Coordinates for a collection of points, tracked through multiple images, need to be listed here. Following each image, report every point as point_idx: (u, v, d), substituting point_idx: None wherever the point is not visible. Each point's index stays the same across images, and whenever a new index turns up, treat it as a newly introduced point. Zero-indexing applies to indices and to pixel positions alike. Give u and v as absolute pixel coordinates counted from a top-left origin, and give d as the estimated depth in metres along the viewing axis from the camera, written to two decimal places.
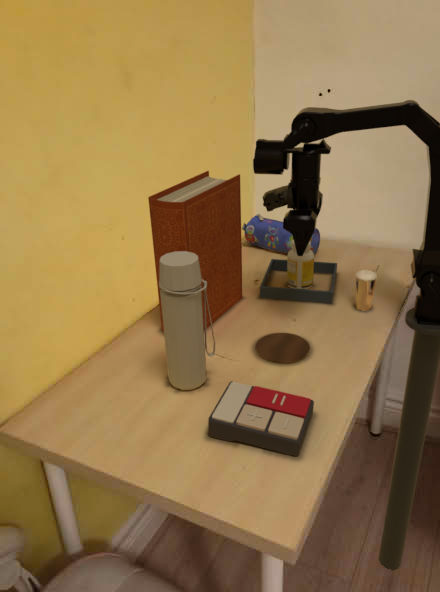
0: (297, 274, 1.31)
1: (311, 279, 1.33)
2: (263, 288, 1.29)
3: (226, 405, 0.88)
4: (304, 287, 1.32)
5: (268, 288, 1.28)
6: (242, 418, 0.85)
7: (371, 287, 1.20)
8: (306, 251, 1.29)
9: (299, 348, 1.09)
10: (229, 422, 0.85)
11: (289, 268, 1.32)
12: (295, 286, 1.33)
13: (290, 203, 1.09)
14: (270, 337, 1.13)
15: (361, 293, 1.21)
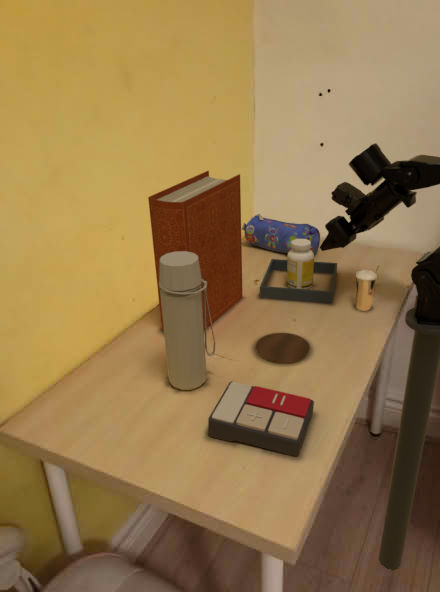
0: (297, 274, 1.31)
1: (311, 279, 1.33)
2: (263, 288, 1.29)
3: (226, 405, 0.88)
4: (304, 287, 1.32)
5: (268, 288, 1.28)
6: (242, 418, 0.85)
7: (371, 287, 1.20)
8: (306, 251, 1.29)
9: (299, 348, 1.09)
10: (229, 422, 0.85)
11: (289, 268, 1.32)
12: (295, 286, 1.33)
13: (349, 210, 1.15)
14: (270, 337, 1.13)
15: (361, 293, 1.21)
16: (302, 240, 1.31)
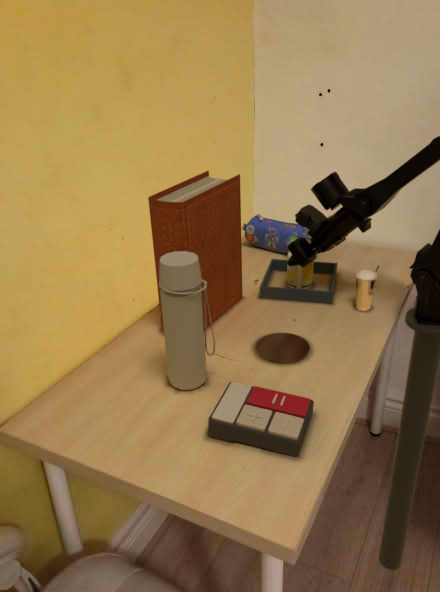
0: (297, 274, 1.31)
1: (311, 279, 1.33)
2: (263, 288, 1.29)
3: (226, 405, 0.88)
4: (304, 287, 1.32)
5: (268, 288, 1.28)
6: (242, 418, 0.85)
7: (371, 287, 1.20)
8: None
9: (299, 348, 1.09)
10: (229, 422, 0.85)
11: (289, 268, 1.32)
12: (295, 286, 1.33)
13: (311, 232, 1.24)
14: (270, 337, 1.13)
15: (361, 293, 1.21)
16: None
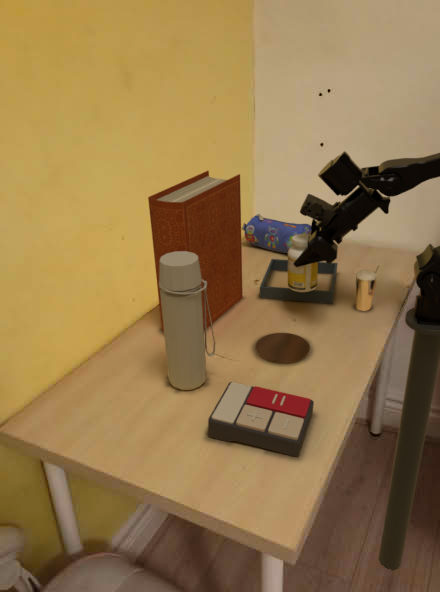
0: (306, 274, 1.15)
1: None
2: (263, 288, 1.29)
3: (226, 405, 0.88)
4: (313, 287, 1.17)
5: (268, 288, 1.28)
6: (242, 418, 0.85)
7: (371, 287, 1.20)
8: None
9: (299, 348, 1.09)
10: (229, 422, 0.85)
11: (295, 269, 1.15)
12: (303, 288, 1.16)
13: (324, 223, 1.09)
14: (270, 337, 1.13)
15: (361, 293, 1.21)
16: (302, 235, 1.15)
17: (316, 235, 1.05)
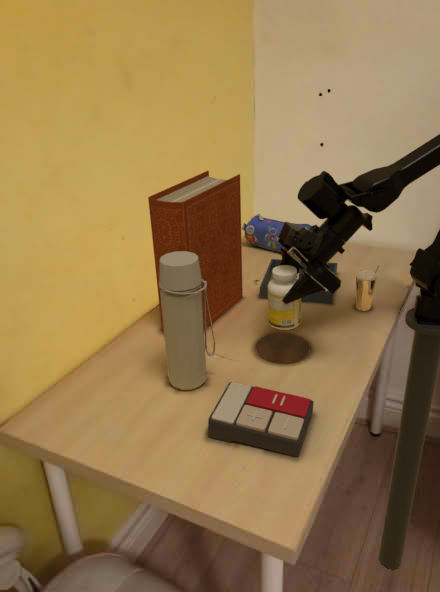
0: (295, 309, 1.03)
1: None
2: (263, 288, 1.29)
3: (226, 406, 0.88)
4: (299, 321, 1.06)
5: None
6: (242, 419, 0.85)
7: (371, 287, 1.20)
8: (295, 279, 1.02)
9: (299, 348, 1.09)
10: (229, 423, 0.85)
11: (283, 307, 1.02)
12: (293, 325, 1.04)
13: (313, 251, 0.98)
14: (270, 337, 1.13)
15: (361, 293, 1.21)
16: (281, 268, 1.03)
17: (318, 266, 0.94)
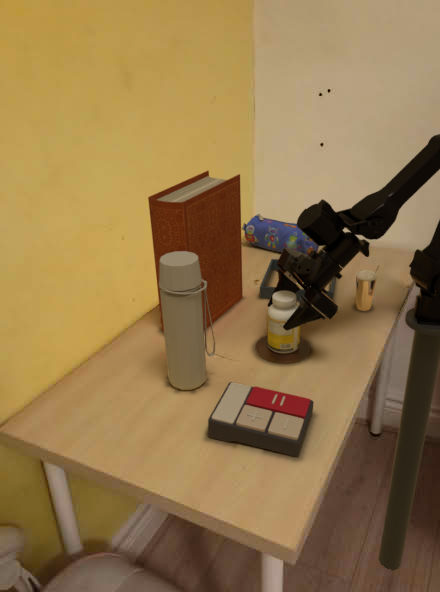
0: (294, 334, 1.05)
1: None
2: (263, 288, 1.29)
3: (226, 406, 0.88)
4: (298, 345, 1.08)
5: (268, 288, 1.28)
6: (242, 419, 0.85)
7: (371, 287, 1.20)
8: (295, 304, 1.05)
9: (299, 348, 1.09)
10: (229, 423, 0.85)
11: (282, 331, 1.05)
12: (292, 349, 1.07)
13: (311, 277, 1.01)
14: None
15: (361, 293, 1.21)
16: (281, 293, 1.05)
17: (316, 293, 0.96)
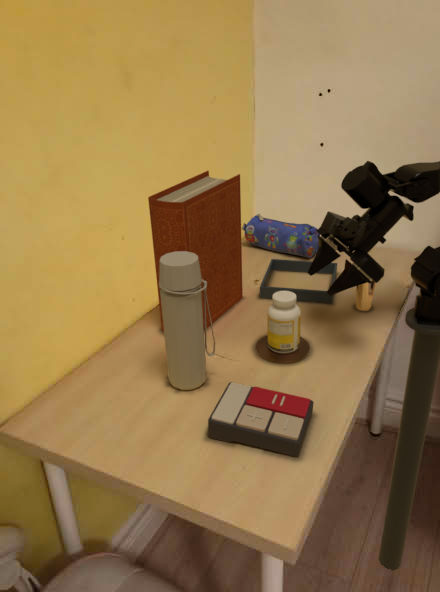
0: (294, 334, 1.05)
1: None
2: (263, 288, 1.29)
3: (226, 406, 0.88)
4: (298, 345, 1.08)
5: (268, 288, 1.28)
6: (242, 419, 0.85)
7: (371, 287, 1.20)
8: (295, 304, 1.05)
9: (299, 348, 1.09)
10: (229, 423, 0.85)
11: (282, 331, 1.05)
12: (292, 349, 1.07)
13: (355, 241, 0.99)
14: None
15: (361, 293, 1.21)
16: (281, 293, 1.05)
17: (363, 255, 0.95)
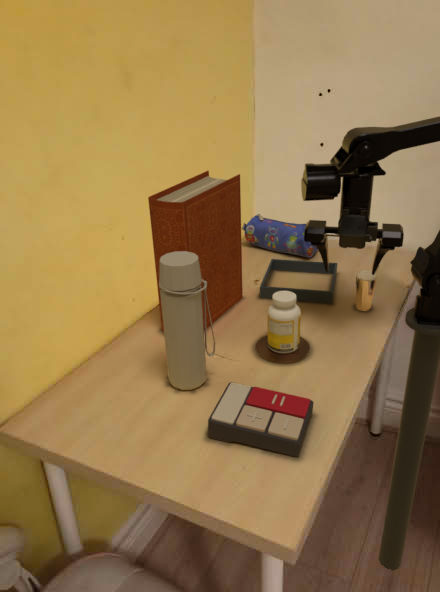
0: (294, 334, 1.05)
1: None
2: (263, 288, 1.29)
3: (226, 406, 0.88)
4: (298, 345, 1.08)
5: (268, 288, 1.28)
6: (242, 419, 0.85)
7: (371, 287, 1.20)
8: (295, 304, 1.05)
9: (299, 348, 1.09)
10: (229, 423, 0.85)
11: (282, 331, 1.05)
12: (292, 349, 1.07)
13: None
14: None
15: (361, 293, 1.21)
16: (281, 293, 1.05)
17: (397, 236, 1.02)
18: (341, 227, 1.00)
